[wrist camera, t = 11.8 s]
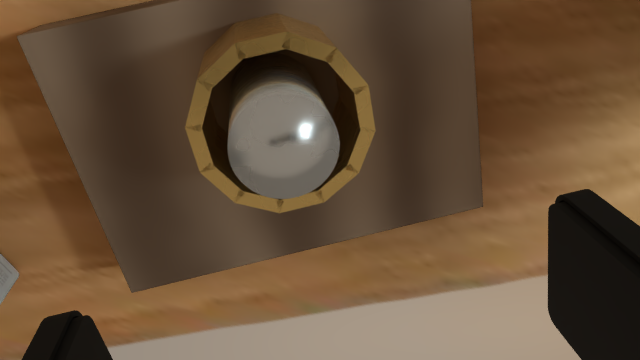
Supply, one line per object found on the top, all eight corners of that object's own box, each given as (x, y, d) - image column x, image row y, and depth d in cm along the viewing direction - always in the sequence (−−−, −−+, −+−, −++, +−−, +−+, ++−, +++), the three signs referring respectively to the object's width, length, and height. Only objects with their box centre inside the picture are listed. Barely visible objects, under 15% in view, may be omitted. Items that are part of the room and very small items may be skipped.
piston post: (305, 43, 24) (328, 82, 18) (321, 123, 26) (348, 184, 20) (220, 63, 24) (213, 109, 18) (242, 142, 26) (243, 209, 19)
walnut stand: (443, -64, 26) (467, -64, 23) (462, 183, 32) (483, 206, 29) (40, 25, 25) (16, 36, 22) (141, 261, 31) (131, 292, 28)
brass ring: (334, 0, 23) (357, 15, 19) (359, 145, 27) (384, 187, 22) (177, 35, 23) (162, 59, 19) (221, 178, 26) (218, 228, 22)
